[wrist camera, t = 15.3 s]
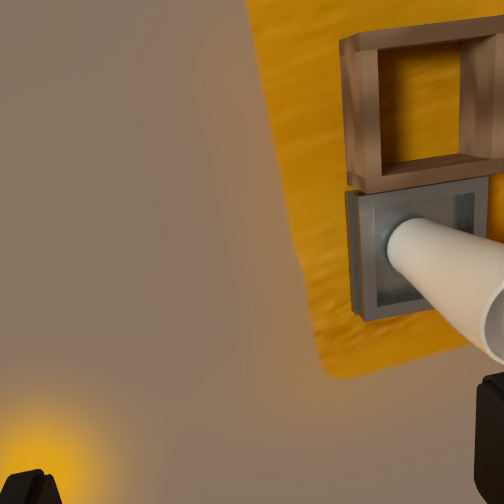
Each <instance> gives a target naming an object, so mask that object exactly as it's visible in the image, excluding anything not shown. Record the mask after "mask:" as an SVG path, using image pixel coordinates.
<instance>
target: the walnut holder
mask: <svg viewBox="0 0 504 504" xmlns="http://www.w3.org/2000/svg"><path fill="white" fill-rule="evenodd" d="M454 42H461V66H460V120H459V153H458V154H451V155H445V156H438V157H432V158H425V159H418V160H412V161H405V162H399V163H392V164H386V165H381V140H380V112H379V83H378V54H377V52H383V51H391V50H399V49H407V48H414V47H422V46H430V45H438V44H446V43H454ZM339 50H340V67H341V84H342V100H343V117H344V134H345V151H346V168H347V184H348V185H350V186H352V187H354V188H356V189H358V190H360V191H362V192H364V193H366V194H372V193H378V192H384V191H390V190H397V189H403V188H409V187H416V186H422V185H428V184H434V183H441V182H447V181H453V180H460V179H466V178H472V177H479V176H485V175H491V174H497V173H504V15H499V16H490V17H482V18H474V19H466V20H458V21H449V22H441V23H433V24H425V25H417V26H408V27H400V28H392V29H384V30H376V31H367V32H360V33H357V34H355V35H352V36H349V37H347V38H344V39H341V40H339Z"/></svg>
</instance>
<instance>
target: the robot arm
mask: <svg viewBox="0 0 504 504" xmlns="http://www.w3.org/2000/svg"><path fill="white" fill-rule="evenodd" d="M474 458H475V459H474V481H475V484H476V487H477V489H478V491H479V493H480V495H481V496H482V497H483V498H484V500H485V501H486V502H487V504H504V372H501V373H497V374H492V375H487V376H485V377H484V378H483V380H482V384H479V385H478V387H477V398H476V428H475V457H474ZM0 504H62V501H61V498H60V495H59V492H58V489H57V487H56V483H55V480H54V478H53V476H52V475H51V474H48V475H44V472H43V471H42V470H41V469H35V470H31V471H26V472H21V473H17V474H12V475H10V476H9V477H8V478H7V480H6V482H5V484H4V486H3V489H2V491H1V493H0Z"/></svg>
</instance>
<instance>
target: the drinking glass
mask: <svg viewBox="0 0 504 504" xmlns="http://www.w3.org/2000/svg"><path fill="white" fill-rule="evenodd" d="M387 255H388V259H389V262H390V264H391V265H392V267H393V268H394V269H395V270H396V271H397V272H399V273H400V274H401V275H402V276H404V277H405V278H406V279H407V280H408V281H409V282H410V283H411V284H412V285H413V287H414V288H415V289H416V290H417V291H418V292H419V293H420V294H421V295H422V296H423V297H424V298H425V299H426V300H427V301H428V302H429V303H430V304H431V305H432V306H433V307H434V308H435V310H436V311H437V312H438V313H439V314H440V315H441V316H442V317H443V318H444V319H445V320H446V321H447V322H448V323H449V324H450V325H451V326H452V327H453V328H454V329H455V330H456V331H457V332H459V333H460V334H461V335H462V336H463V337H464V338H466V339H467V340H468V341H469V342H471V343H472V344H473V345H474V346H476V347H477V348H478V349H480V350H481V351H483V352H484V353H485V354H487V355H488V356H490V357H491V358H492V359H494V360H495V361H497V362H499V363H501V364H504V243H500V242H497V241H494V240H491V239H487V238H484V237H480V236H477V235H474V234H470V233H467V232H464V231H461V230H457V229H454V228H451V227H448V226H445V225H442V224H439V223H437V222H435V221H432V220H430V219H426V218H414V219H410V220H407V221H405V222H403V223H402V224H401V225H399V226H398V227H397V228H396V229H395V230H394V232H393V233H392V235H391V237H390V239H389V241H388V245H387Z"/></svg>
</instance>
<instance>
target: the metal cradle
mask: <svg viewBox="0 0 504 504" xmlns="http://www.w3.org/2000/svg"><path fill="white" fill-rule="evenodd" d="M488 183H489V176H487V175H485V176H479V177H472V178H466V179H460V180H453V181H447V182H441V183H434V184H428V185H422V186H416V187H409V188H403V189H397V190H390V191H384V192H378V193H372V194H366V193H364V192H362V191H360V190H352V191H346V192H345V208H346V224H347V240H348V256H349V273H350V289H351V305H352V311H353V312H354V314H355V315H358V314H359V315H360V317H361V318H362V319H363V320H364V321H365V322H366V321H371V320H376V319H382V318H387V317H392V316H398V315H403V314H408V313H414V312H419V311H424V310H430V309H435V308H434V307H433V306H432V305H431V304H430V303H429V302H428V301H427V300H426V299H425V298H424V297H423V296H422V295H421V294H420V293H419V292H418V291H417V290H416V289H415V288H414V287H413V285H412V284H411V283H410V282H409V281H408V280H407V279H406V278H405V277H404V276H402V275H401V274H400V273H399V272H397V271H396V270H395V269H394V268H393V267H392V265H391V264H390V262H389V259H388V255H387V245H388V241H389V239H390V237H391V235H392V233H393V232H394V230H395V229H396V228H397V227H398V226H399V225H401V224H402V223H403V222H405V221H407V220H410V219H414V218H426V219H430V220H432V221H435V222H437V223H439V224H442V225H445V226H448V227H451V228H454V229H457V230H461V231H464V232H467V233H470V234H474V235H477V236H480V237H484V238H486V233H487V208H488Z"/></svg>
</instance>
